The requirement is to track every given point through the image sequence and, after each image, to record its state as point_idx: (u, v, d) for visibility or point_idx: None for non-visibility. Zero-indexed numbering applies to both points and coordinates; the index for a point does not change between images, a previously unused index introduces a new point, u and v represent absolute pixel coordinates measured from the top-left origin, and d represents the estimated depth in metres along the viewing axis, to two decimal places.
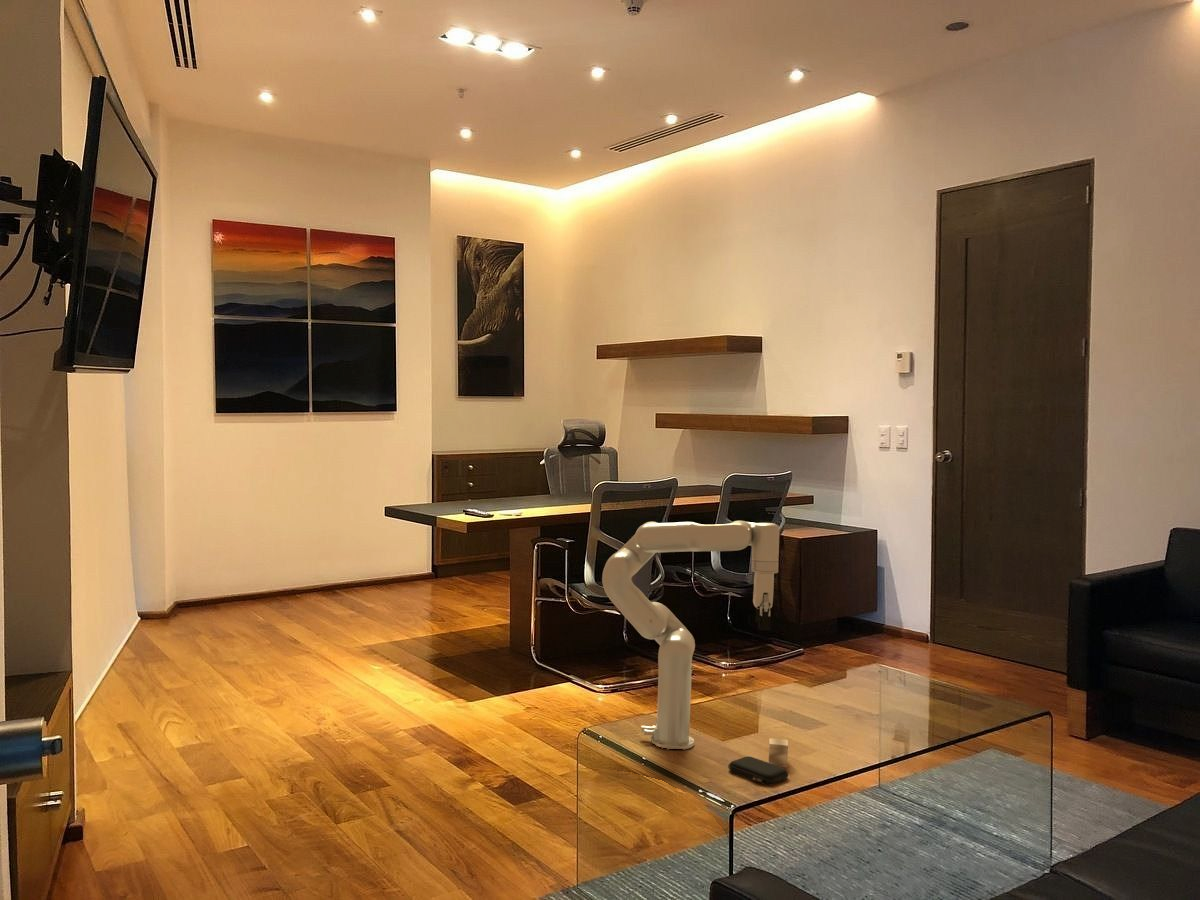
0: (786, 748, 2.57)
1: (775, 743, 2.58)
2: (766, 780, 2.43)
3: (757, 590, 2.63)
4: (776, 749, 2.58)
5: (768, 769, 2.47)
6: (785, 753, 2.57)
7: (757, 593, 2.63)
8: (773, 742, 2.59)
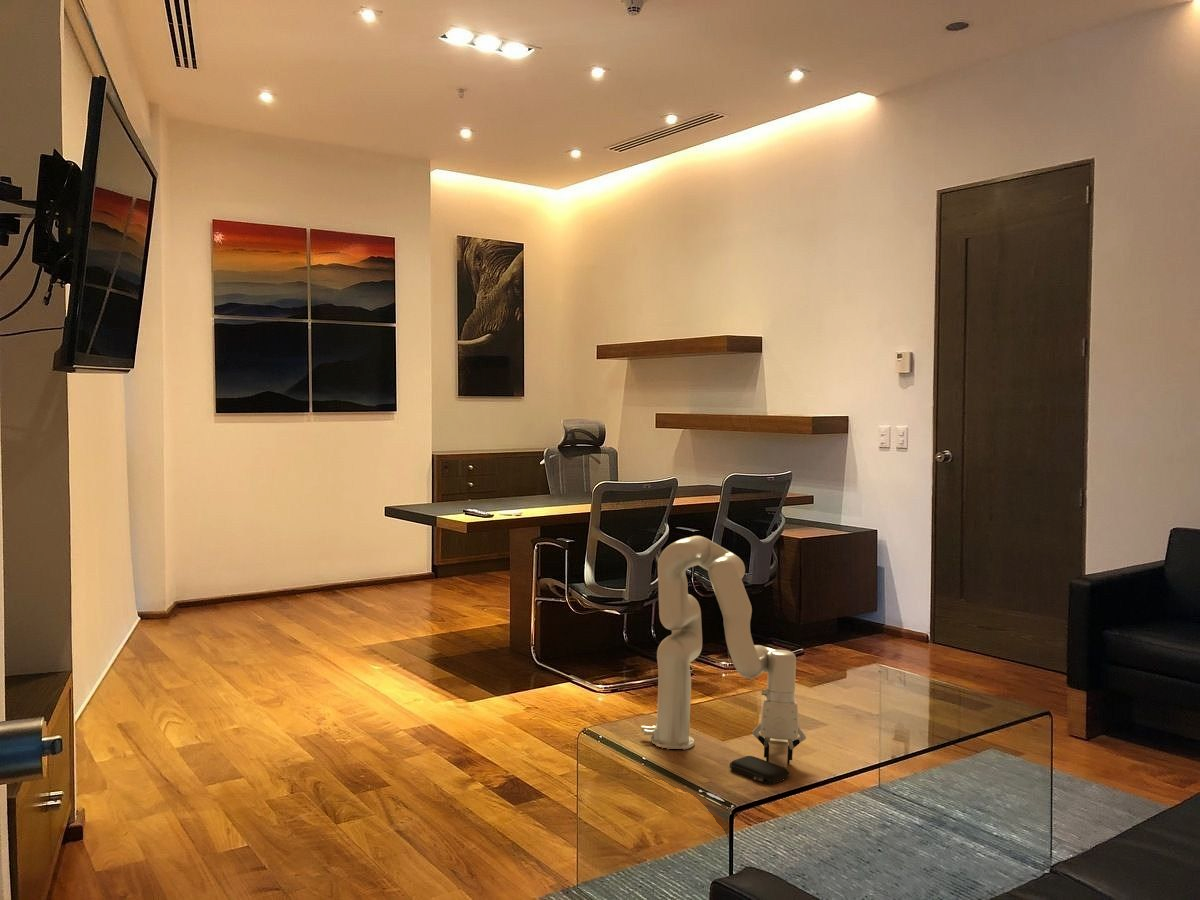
0: (786, 748, 2.57)
1: (775, 743, 2.58)
2: (767, 779, 2.43)
3: (797, 722, 2.57)
4: (776, 749, 2.58)
5: (769, 769, 2.48)
6: (785, 753, 2.57)
7: (797, 725, 2.57)
8: (773, 742, 2.59)
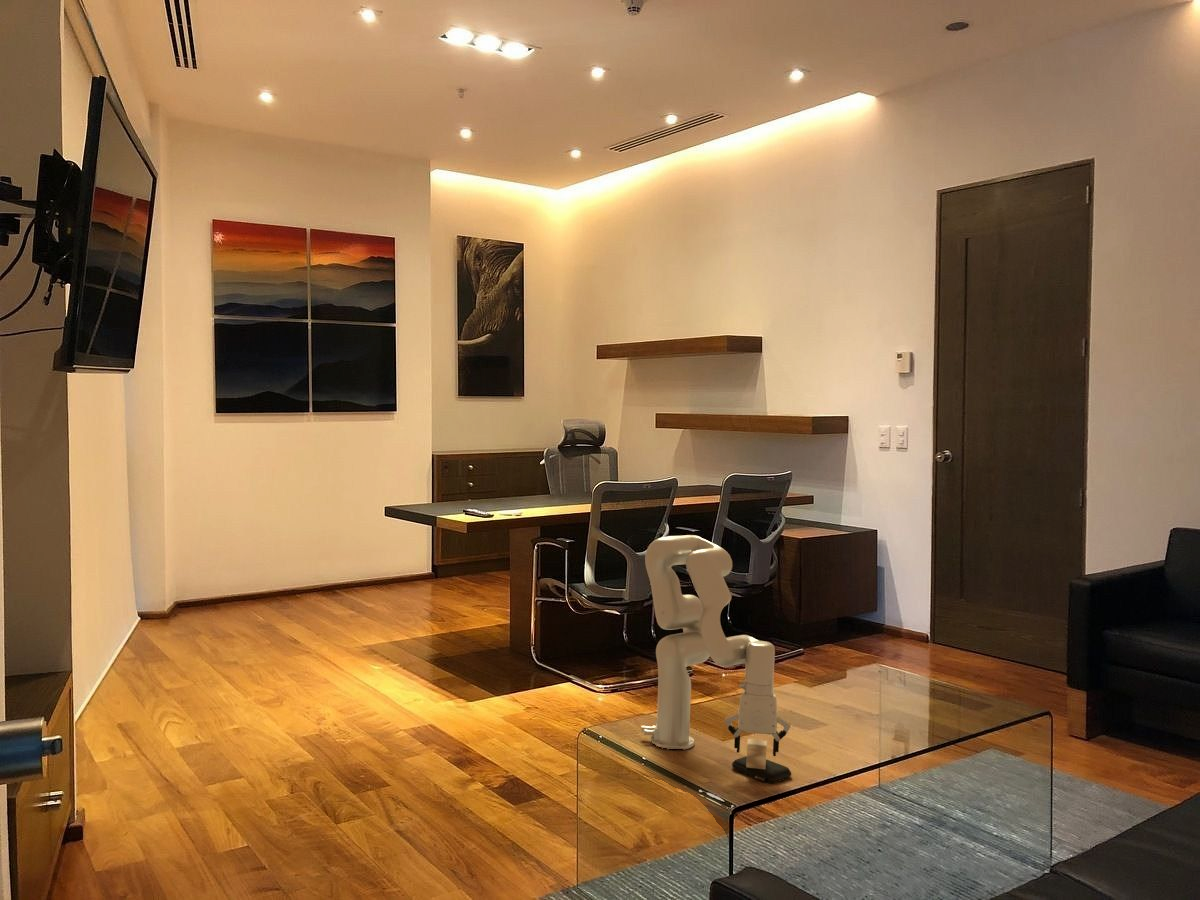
0: (764, 749, 2.47)
1: (753, 744, 2.49)
2: (768, 778, 2.44)
3: (776, 715, 2.47)
4: (754, 750, 2.48)
5: (771, 768, 2.48)
6: (763, 754, 2.48)
7: (776, 718, 2.47)
8: (751, 743, 2.50)
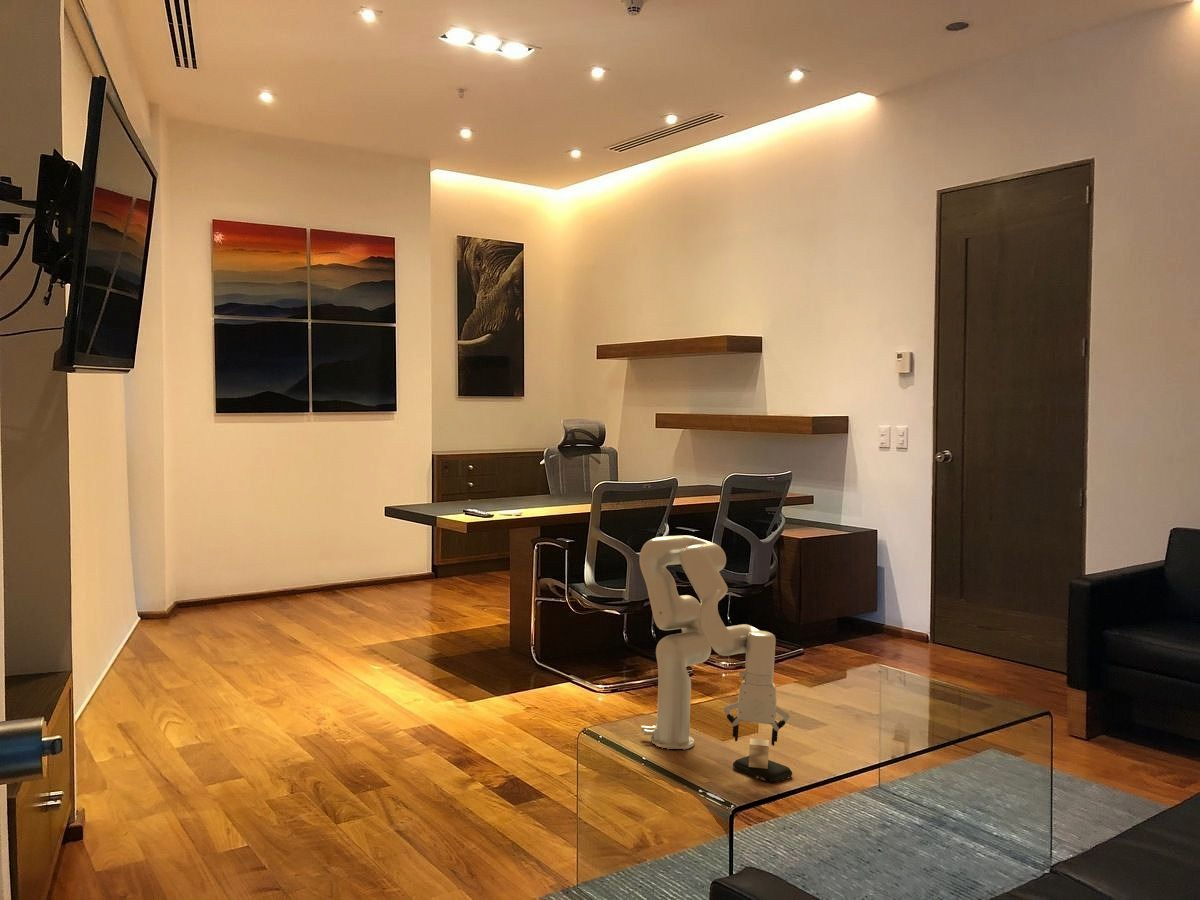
0: (767, 749, 2.48)
1: (755, 743, 2.50)
2: (769, 778, 2.45)
3: (775, 705, 2.47)
4: (756, 750, 2.49)
5: (772, 768, 2.49)
6: (766, 754, 2.48)
7: (775, 708, 2.47)
8: (753, 742, 2.50)
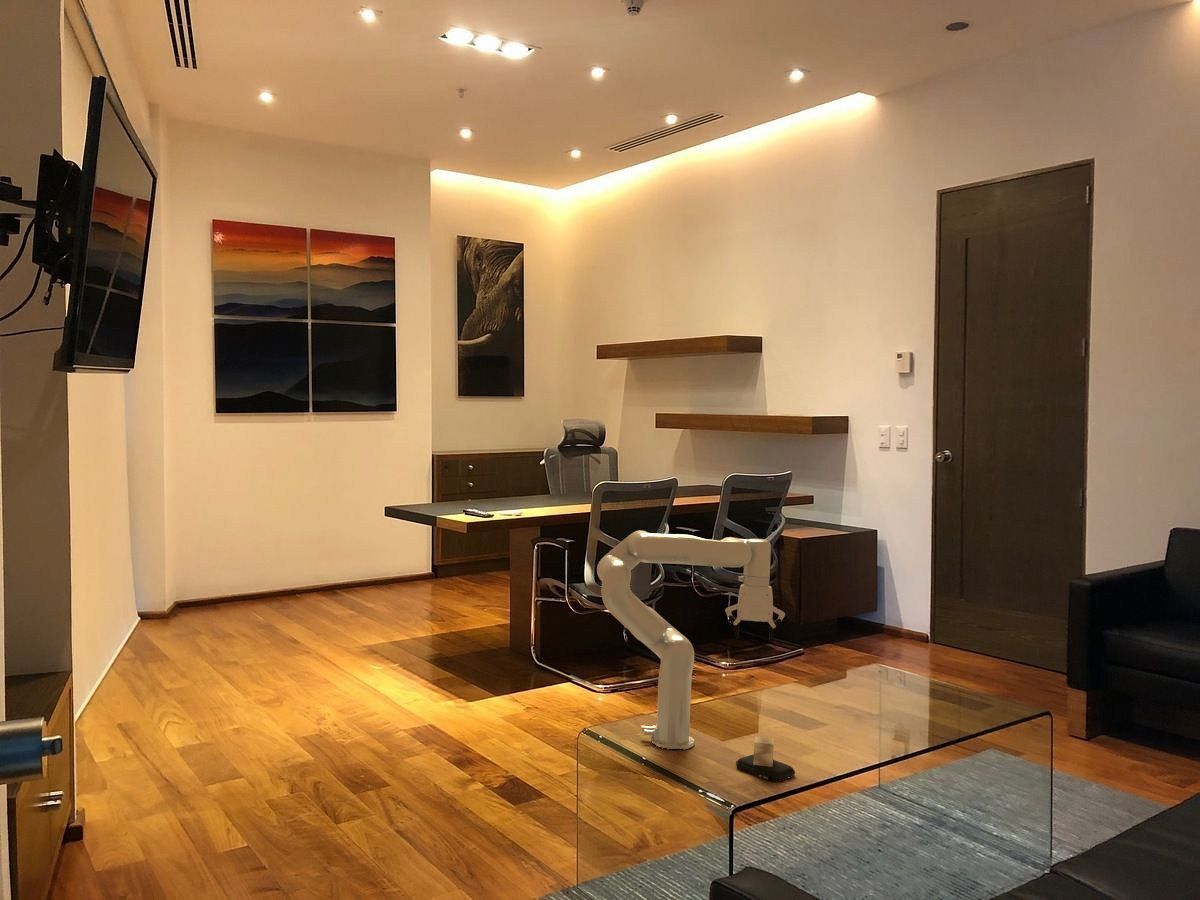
0: (771, 747, 2.50)
1: (760, 742, 2.51)
2: (772, 777, 2.45)
3: (771, 604, 2.73)
4: (761, 748, 2.50)
5: (775, 767, 2.50)
6: (770, 752, 2.50)
7: (772, 607, 2.73)
8: (758, 741, 2.52)
